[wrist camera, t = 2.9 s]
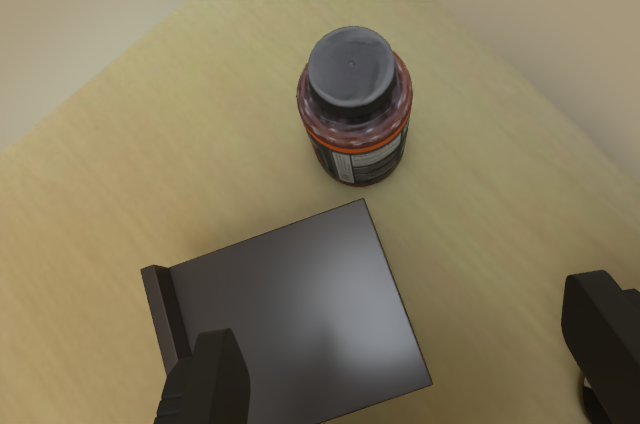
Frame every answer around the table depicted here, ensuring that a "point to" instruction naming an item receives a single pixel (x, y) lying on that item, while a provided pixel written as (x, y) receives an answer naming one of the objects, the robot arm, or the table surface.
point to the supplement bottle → (355, 105)
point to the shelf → (297, 317)
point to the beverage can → (594, 406)
